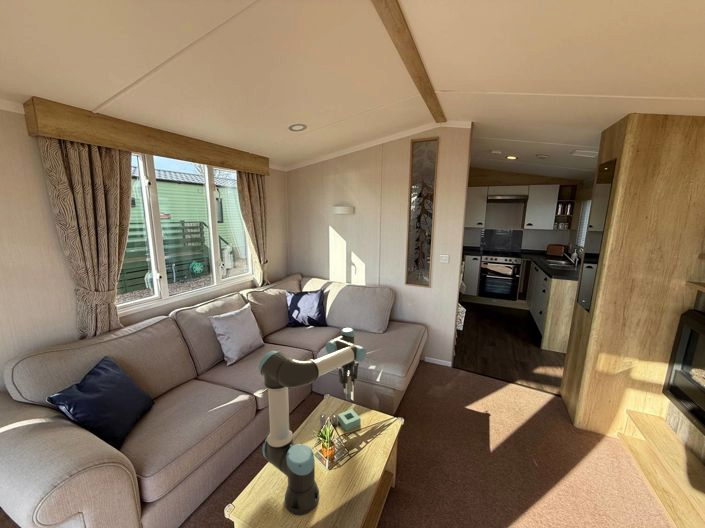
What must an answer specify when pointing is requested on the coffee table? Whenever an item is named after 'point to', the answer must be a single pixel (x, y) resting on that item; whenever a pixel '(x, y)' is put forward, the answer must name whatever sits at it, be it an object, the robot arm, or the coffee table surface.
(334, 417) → the short steel pin
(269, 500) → the coffee table surface
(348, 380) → the long steel pin
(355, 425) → the teal collar block
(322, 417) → the medium steel pin
